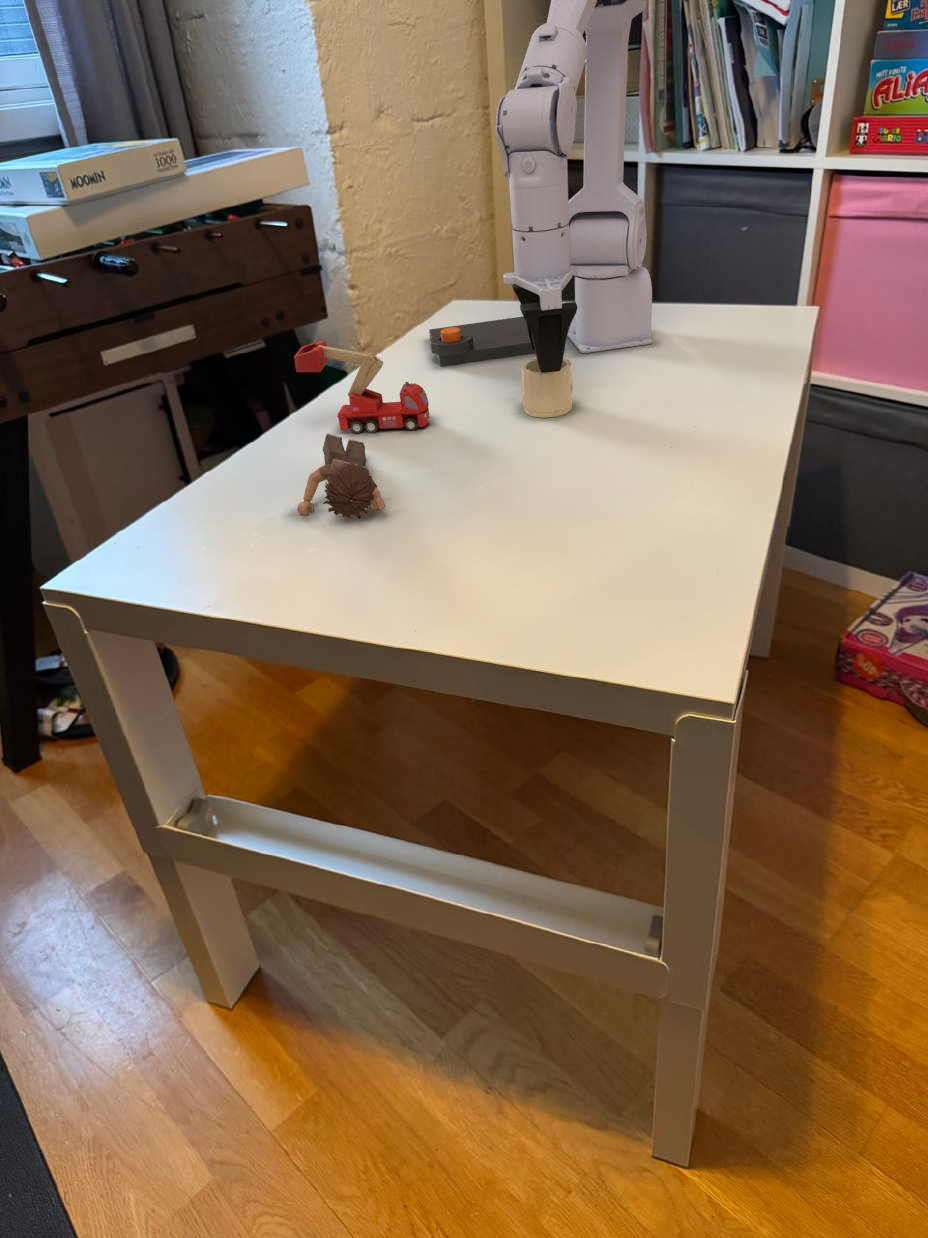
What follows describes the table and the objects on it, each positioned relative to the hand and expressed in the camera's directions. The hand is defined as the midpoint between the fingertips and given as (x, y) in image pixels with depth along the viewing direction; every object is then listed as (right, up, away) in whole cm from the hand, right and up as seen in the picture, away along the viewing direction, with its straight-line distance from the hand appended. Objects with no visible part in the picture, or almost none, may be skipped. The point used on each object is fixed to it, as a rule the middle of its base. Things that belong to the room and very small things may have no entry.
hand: (546, 359), depth 96 cm
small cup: (+1, -5, +3) cm, 6 cm away
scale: (-5, +9, +24) cm, 26 cm away
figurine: (-21, -16, -10) cm, 28 cm away
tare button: (-11, +8, +18) cm, 23 cm away
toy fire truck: (-19, -7, +4) cm, 21 cm away
